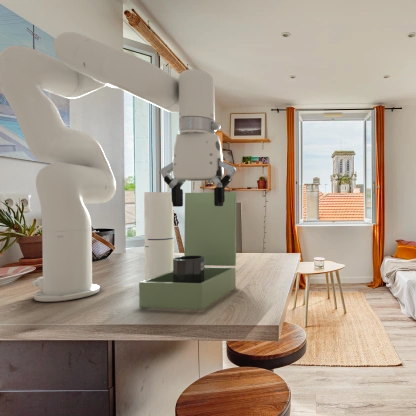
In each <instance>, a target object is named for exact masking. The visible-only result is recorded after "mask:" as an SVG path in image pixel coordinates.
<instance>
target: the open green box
mask: <svg viewBox="0 0 416 416" xmlns="http://www.w3.org/2000/svg"><path fill="white" fill-rule="evenodd" d="M236 276H237V275H236V267H231V266H204V282H202V283H176V282H173V271H171V272H168V273H165V274H162V275H159V276H156V277H153V278H150V279H148V280H145V279H144V280H142V281H139V282H138V293H139V295H138V297H139V298H138V302H139V303H138V304H139V305H138V306H139V308H151V309H173V310H175V309H176V310H198V311H199V310H202V311H203V310H205V308H207V307H209V306H211V305H212V304H214V303H215V302H216V301H218V300H220V299H221V298H222V297H224V296H225V295H227V294H229V293H231V291H233V290H235V289H236V288H237V287H236V283H237V282H236Z"/></svg>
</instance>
